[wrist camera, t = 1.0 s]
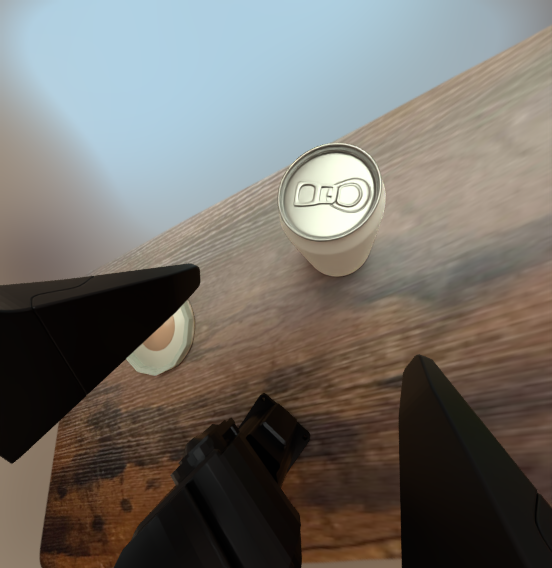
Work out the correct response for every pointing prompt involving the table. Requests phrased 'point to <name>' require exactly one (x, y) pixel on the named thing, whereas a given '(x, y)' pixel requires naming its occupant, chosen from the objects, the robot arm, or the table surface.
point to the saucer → (166, 344)
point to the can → (332, 206)
